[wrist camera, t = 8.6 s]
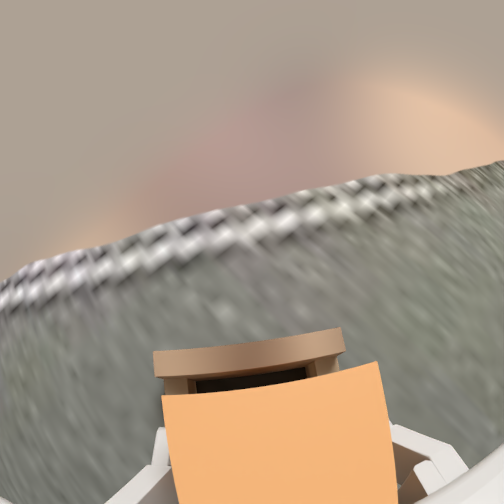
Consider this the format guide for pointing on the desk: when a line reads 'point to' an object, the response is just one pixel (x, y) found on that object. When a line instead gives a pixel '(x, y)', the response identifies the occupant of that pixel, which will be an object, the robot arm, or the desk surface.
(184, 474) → the block
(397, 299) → the desk surface
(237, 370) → the index bracket
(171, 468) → the robot arm
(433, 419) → the desk surface
